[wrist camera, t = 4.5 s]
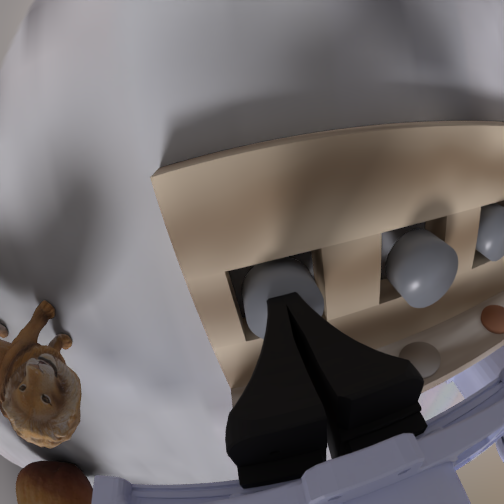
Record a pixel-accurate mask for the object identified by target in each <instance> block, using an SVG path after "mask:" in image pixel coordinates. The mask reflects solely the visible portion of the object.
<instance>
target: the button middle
mask: <svg viewBox="0 0 504 504" xmlns="http://www.w3.org/2000/svg"><path fill="white" fill-rule="evenodd" d="M385 269H386V276H387V279H388V281H389V282H390V283H391V284H392V285H393V286H394V288H395V289H396V290H397V291H398V292H399V293H400V295H401V296H402V297H403V298H404V299H405V300H406V302H407V303H408V304H409V305H410V306H412V307H415V308H424V307H427V306H430V305H432V304H433V303H435V302H436V301H438V300H439V299H440V298H441V297H442V296H443V295H444V294H445V293H446V292H447V291H448V289H449V288H450V286H451V285H452V283H453V281H454V279H455V277H456V274H457V270H458V256H457V253H456V251H455V250H454V249H453V248H452V247H451V246H449V245H448V244H447V243H445V242H444V241H442V240H441V239H440V238H438V237H437V236H436V235H434V234H433V233H431V232H430V231H428V230H426V229H422V228H420V229H414V230H411V231H409V232H407V233H406V234H404V235H403V236H402V237H400V238H399V239H398V240H397V242H396V243H395V244H394V246H393V247H392V249H391V251H390V253H389V255H388V258H387V261H386V267H385Z"/></svg>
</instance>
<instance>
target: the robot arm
mask: <svg viewBox="0 0 504 504" xmlns="http://www.w3.org/2000/svg"><path fill="white" fill-rule="evenodd" d="M266 302H267V324H266V331H265V336H264V341H263V345H262V349H261V352H260V355H259V358H258V361H257V364H256V366H255V369H254V371H253V374H252V376H251V378H250V380H249V382H248V384H247V386H246V388H245V390H244V391H243V393H242V395H241V397H240V398H239V400H238V401H237V403H236V404H235V406H234V407H233V409H232V410H231V412H230V413H229V416H228V421H227V426H226V437H225V441H226V451H227V454H228V456H229V457H230V458H231V459H232V461H233V462H234V463H235V464H236V466H237V468H238V476H239V480H232V481H224V482H214V483H201V484H182V485H143V484H131V483H130V482H129V481H127V480H125V479H123V478H120V477H114V476H103V475H95V478H94V485H93V494H92V502H91V504H471V503H470V501H469V499H468V496H467V494H466V492H465V490H464V488H463V486H462V484H461V482H460V480H459V477H458V475H457V473H456V470H458V469H459V468H461V467H462V466H464V465H465V464H467V463H468V462H469V461H471V460H472V459H474V458H475V457H476V456H478V455H479V454H480V453H482V452H483V451H484V450H486V449H487V448H488V447H489V446H491V445H492V444H493V443H495V442H496V447H497V451H498V453H499V456H500V458H501V459H502V461H503V462H504V345H503V346H502V347H500V348H499V349H497V350H496V351H494V352H493V353H491V354H490V355H488V356H487V357H485V358H484V359H482V360H481V361H479V362H477V363H476V364H474V365H473V366H471V367H469V368H468V369H466V370H464V371H462V372H461V373H459V374H457V375H455V376H454V377H452V378H450V379H448V380H446V381H445V382H446V383H450V382H452V381H453V382H454V383H455V385H456V386H457V388H458V389H459V391H460V392H461V394H462V395H463V397H464V398H465V399H464V400H463V401H461V402H460V403H458V404H456V405H455V406H453V407H451V408H449V409H448V410H446V411H444V412H442V413H440V414H439V415H437V416H435V417H433V418H431V419H429V420H427V421H425V420H424V418H423V416H422V414H421V413H420V411H421V406H420V404H419V403H418V399H419V396H420V394H421V392H422V389H423V386H424V380H423V377H422V376H421V374H420V373H419V371H418V370H417V369H416V368H415V366H414V365H413V364H412V363H411V362H410V361H409V360H407V359H403V358H399V357H396V356H392V355H389V354H386V353H383V352H380V351H378V350H375V349H373V348H371V347H369V346H366V345H364V344H362V343H360V342H358V341H356V340H354V339H353V338H351V337H349V336H348V335H346V334H344V333H343V332H341V331H340V330H338V329H337V328H335V327H334V326H333V325H331V324H330V323H329V322H328V321H326V320H325V319H324V318H323V317H321V316H320V315H319V314H318V313H317V312H316V311H315V310H313V309H312V308H311V307H310V306H309V305H308V304H307V303H306V302H305V301H304V300H303V299H302V297H301V296H300V295H299V294H298V293H297V292H293V293H289V294H285V295H281V296H277V297H273V298H269V299H268V300H267V301H266ZM327 443H328V446H329V450H330V454H331V458H332V459H331V460H328V461H326V448H327Z"/></svg>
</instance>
